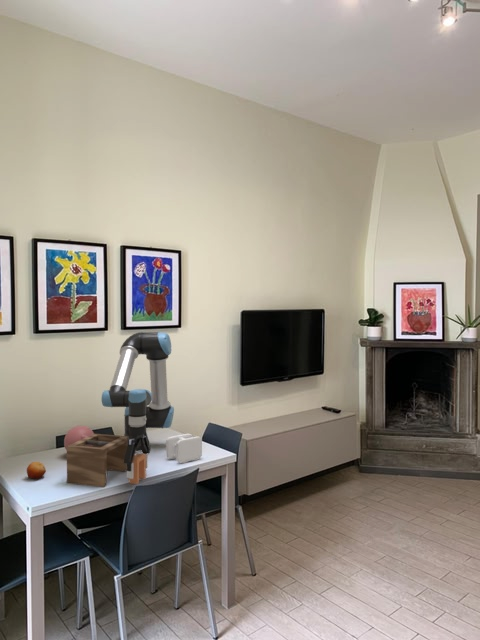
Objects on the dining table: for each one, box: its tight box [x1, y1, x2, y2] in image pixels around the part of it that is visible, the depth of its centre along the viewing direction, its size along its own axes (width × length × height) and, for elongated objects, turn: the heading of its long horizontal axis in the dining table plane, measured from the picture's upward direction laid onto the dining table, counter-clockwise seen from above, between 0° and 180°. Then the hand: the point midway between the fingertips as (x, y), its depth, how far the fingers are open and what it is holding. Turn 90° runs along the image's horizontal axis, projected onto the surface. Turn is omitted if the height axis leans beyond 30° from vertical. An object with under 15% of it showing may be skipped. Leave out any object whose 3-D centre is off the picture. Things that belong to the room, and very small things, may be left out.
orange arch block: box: [128, 453, 147, 485], centre depth 209 cm, size 4×8×10 cm, turn 165°
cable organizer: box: [165, 433, 203, 464], centre depth 239 cm, size 15×11×12 cm
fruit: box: [26, 461, 47, 480], centre depth 212 cm, size 8×8×8 cm
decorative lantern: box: [63, 425, 95, 451], centre depth 243 cm, size 15×20×15 cm
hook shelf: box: [66, 433, 129, 488], centre depth 214 cm, size 22×18×16 cm
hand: (137, 473), depth 209 cm, fingers open, 13 cm apart
